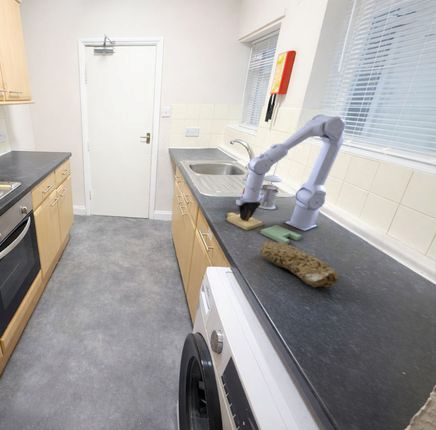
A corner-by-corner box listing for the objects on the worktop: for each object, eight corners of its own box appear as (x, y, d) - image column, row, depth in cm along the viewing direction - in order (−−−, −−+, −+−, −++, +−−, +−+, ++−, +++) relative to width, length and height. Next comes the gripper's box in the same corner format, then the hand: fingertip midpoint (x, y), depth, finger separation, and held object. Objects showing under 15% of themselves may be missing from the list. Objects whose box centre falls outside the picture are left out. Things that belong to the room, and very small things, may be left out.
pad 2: (275, 228, 110) (276, 224, 109) (300, 239, 102) (301, 235, 101) (260, 233, 105) (261, 229, 105) (284, 244, 97) (285, 241, 97)
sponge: (336, 289, 77) (287, 243, 93) (347, 272, 72) (294, 226, 88) (295, 300, 76) (253, 251, 92) (304, 284, 71) (258, 235, 87)
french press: (276, 204, 133) (292, 154, 122) (275, 212, 124) (291, 159, 113) (255, 200, 137) (268, 152, 127) (252, 207, 129) (266, 156, 118)
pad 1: (236, 213, 122) (239, 202, 119) (262, 225, 112) (265, 213, 109) (221, 217, 117) (223, 206, 115) (246, 230, 107) (249, 218, 105)
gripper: (256, 182, 113) (248, 211, 119) (232, 186, 107) (225, 217, 112) (271, 187, 107) (262, 217, 113) (248, 192, 101) (240, 224, 107)
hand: (245, 217), depth 112 cm, fingers closed on pad 1, 3 cm apart
